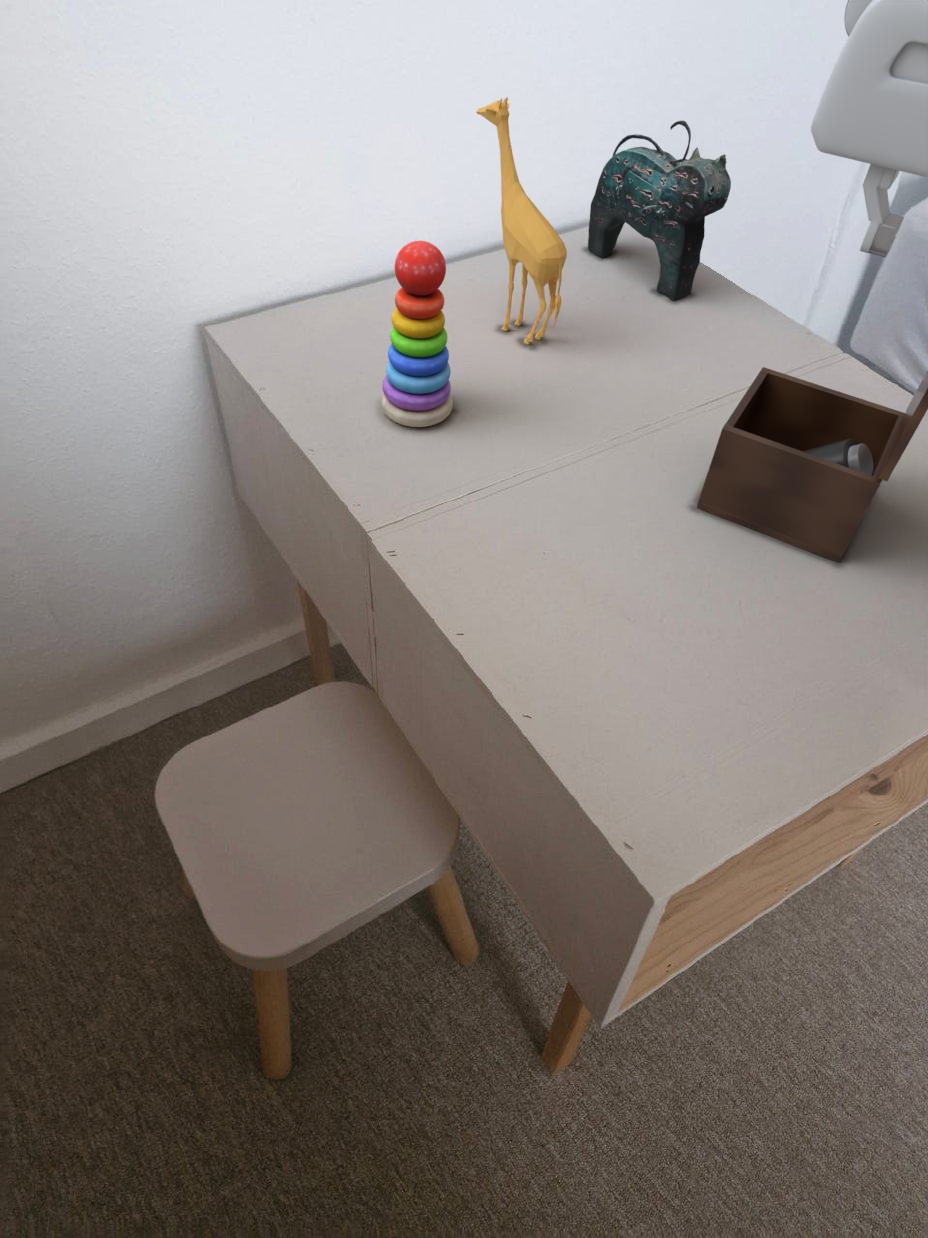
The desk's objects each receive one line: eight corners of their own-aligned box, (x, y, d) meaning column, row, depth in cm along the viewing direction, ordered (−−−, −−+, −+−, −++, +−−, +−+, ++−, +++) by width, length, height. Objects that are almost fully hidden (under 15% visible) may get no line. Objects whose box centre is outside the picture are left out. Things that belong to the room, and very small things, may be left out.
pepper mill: (782, 489, 87) (881, 466, 80) (768, 516, 85) (868, 494, 77) (763, 453, 86) (863, 426, 78) (748, 479, 83) (849, 453, 76)
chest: (696, 507, 86) (722, 428, 79) (735, 444, 94) (762, 366, 86) (838, 562, 82) (880, 484, 74) (868, 492, 89) (908, 414, 82)
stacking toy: (451, 432, 93) (458, 266, 79) (378, 429, 93) (372, 262, 79) (453, 391, 98) (460, 229, 84) (384, 388, 98) (379, 224, 84)
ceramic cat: (705, 297, 115) (748, 138, 100) (671, 310, 113) (711, 149, 98) (605, 240, 126) (631, 88, 111) (573, 251, 123) (595, 96, 108)
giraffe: (456, 304, 111) (465, 89, 93) (482, 294, 113) (495, 83, 95) (540, 360, 103) (568, 137, 85) (566, 349, 105) (599, 129, 86)
